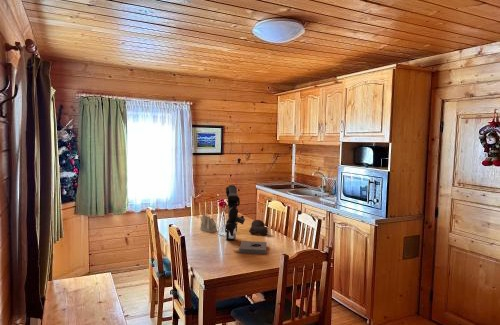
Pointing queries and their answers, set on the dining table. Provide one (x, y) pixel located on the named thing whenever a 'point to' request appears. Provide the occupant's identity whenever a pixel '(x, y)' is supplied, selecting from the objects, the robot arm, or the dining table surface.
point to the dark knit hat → (258, 228)
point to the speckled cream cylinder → (233, 234)
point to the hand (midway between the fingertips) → (232, 234)
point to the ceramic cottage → (207, 224)
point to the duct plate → (253, 247)
